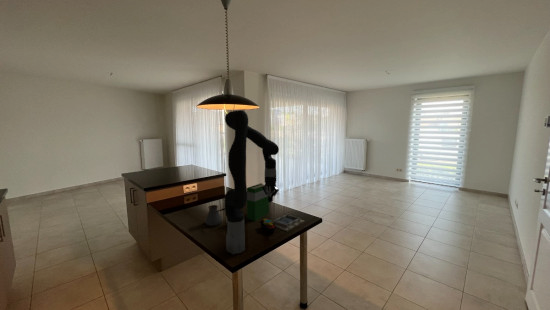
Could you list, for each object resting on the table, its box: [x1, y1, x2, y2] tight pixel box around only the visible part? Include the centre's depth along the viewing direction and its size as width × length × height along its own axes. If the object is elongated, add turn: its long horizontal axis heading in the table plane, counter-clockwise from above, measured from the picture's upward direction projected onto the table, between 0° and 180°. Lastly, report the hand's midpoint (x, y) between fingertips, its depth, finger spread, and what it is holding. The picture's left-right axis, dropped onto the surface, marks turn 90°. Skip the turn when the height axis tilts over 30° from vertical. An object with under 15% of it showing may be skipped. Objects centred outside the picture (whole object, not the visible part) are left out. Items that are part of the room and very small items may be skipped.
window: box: [272, 214, 305, 232], centre depth 153 cm, size 20×16×3 cm
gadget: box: [259, 218, 277, 233], centre depth 142 cm, size 6×13×6 cm, turn 32°
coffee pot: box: [204, 204, 225, 227], centre depth 148 cm, size 21×12×15 cm, turn 56°
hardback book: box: [246, 183, 270, 222], centre depth 164 cm, size 18×7×24 cm, turn 147°
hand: (270, 202), depth 139 cm, fingers closed
